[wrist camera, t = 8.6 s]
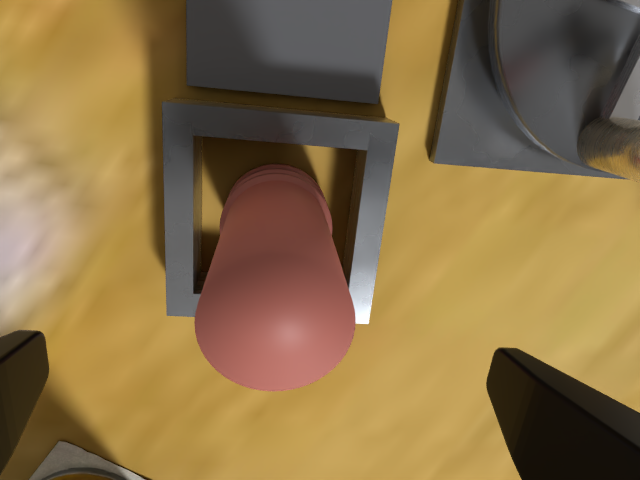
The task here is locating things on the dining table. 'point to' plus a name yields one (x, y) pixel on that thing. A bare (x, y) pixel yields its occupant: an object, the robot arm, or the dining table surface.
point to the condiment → (79, 466)
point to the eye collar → (282, 127)
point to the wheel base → (483, 108)
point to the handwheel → (572, 78)
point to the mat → (289, 46)
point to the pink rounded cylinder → (275, 285)
